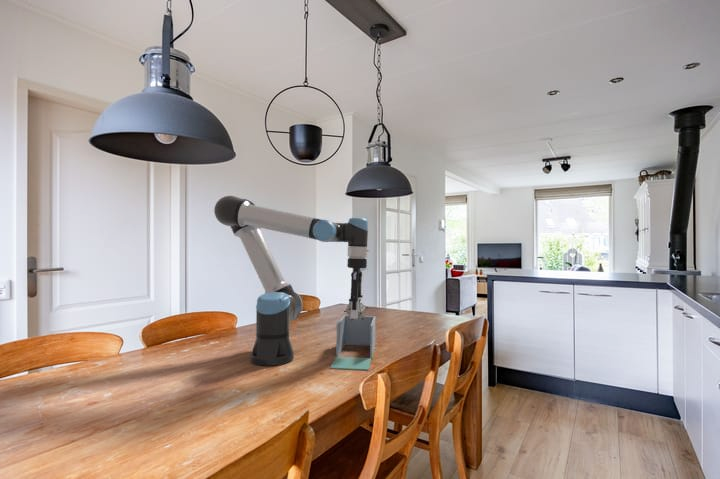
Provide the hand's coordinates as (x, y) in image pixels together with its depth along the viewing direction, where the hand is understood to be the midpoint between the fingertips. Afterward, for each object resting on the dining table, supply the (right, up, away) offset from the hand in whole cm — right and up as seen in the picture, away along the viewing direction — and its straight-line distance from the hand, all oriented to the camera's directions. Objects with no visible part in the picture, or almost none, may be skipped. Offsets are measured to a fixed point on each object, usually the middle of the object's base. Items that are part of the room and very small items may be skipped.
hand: (355, 316), depth 144 cm
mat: (-1, -14, -14) cm, 20 cm away
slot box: (0, -14, +2) cm, 14 cm away
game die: (0, -2, 0) cm, 2 cm away
